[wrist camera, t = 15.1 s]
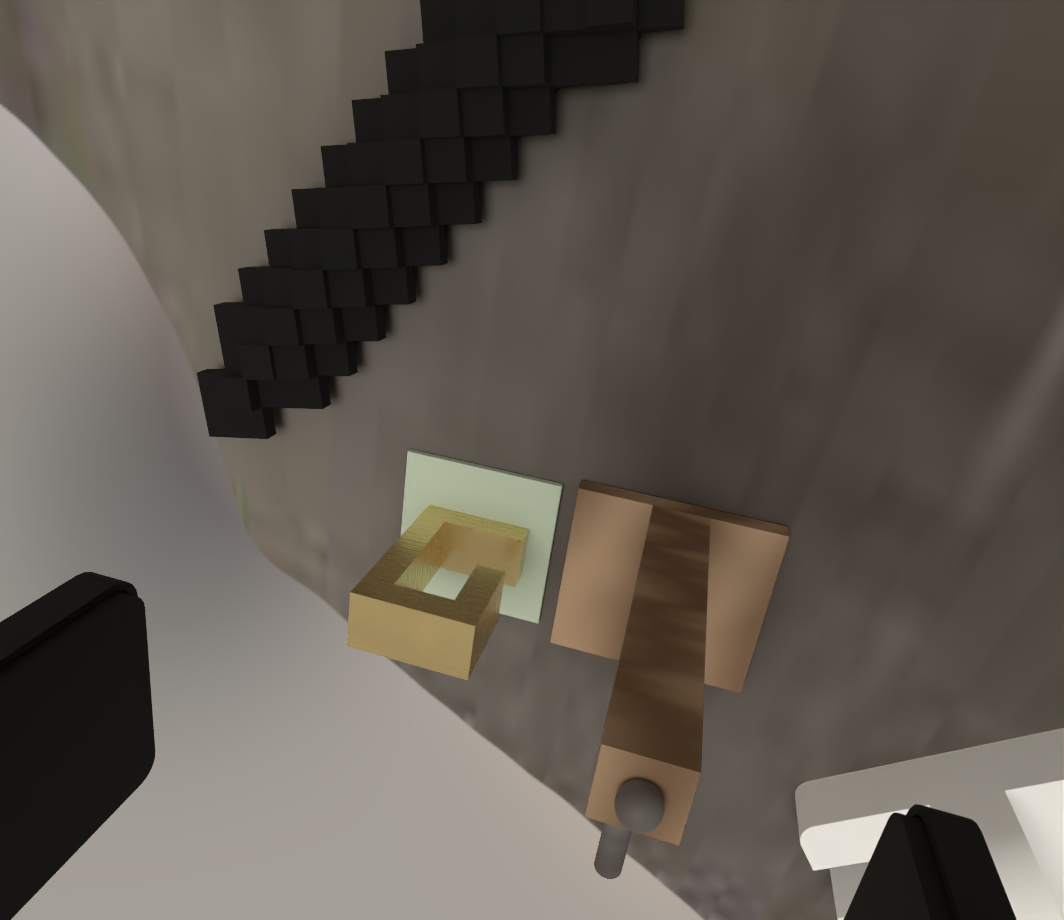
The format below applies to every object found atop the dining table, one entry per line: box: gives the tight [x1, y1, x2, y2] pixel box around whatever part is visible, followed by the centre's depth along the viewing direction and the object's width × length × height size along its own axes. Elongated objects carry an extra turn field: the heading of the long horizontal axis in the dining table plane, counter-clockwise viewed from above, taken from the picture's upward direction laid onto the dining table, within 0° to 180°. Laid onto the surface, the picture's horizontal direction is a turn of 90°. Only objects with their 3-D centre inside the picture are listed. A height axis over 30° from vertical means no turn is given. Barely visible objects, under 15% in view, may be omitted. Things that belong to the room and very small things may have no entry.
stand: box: [550, 480, 790, 879], centre depth 33 cm, size 11×12×20 cm
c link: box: [347, 505, 529, 680], centre depth 38 cm, size 6×3×10 cm, turn 81°
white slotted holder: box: [795, 728, 1064, 920], centre depth 37 cm, size 10×18×11 cm, turn 118°
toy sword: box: [197, 0, 685, 439], centre depth 34 cm, size 11×40×4 cm, turn 137°
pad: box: [401, 449, 563, 623], centre depth 43 cm, size 9×9×1 cm
